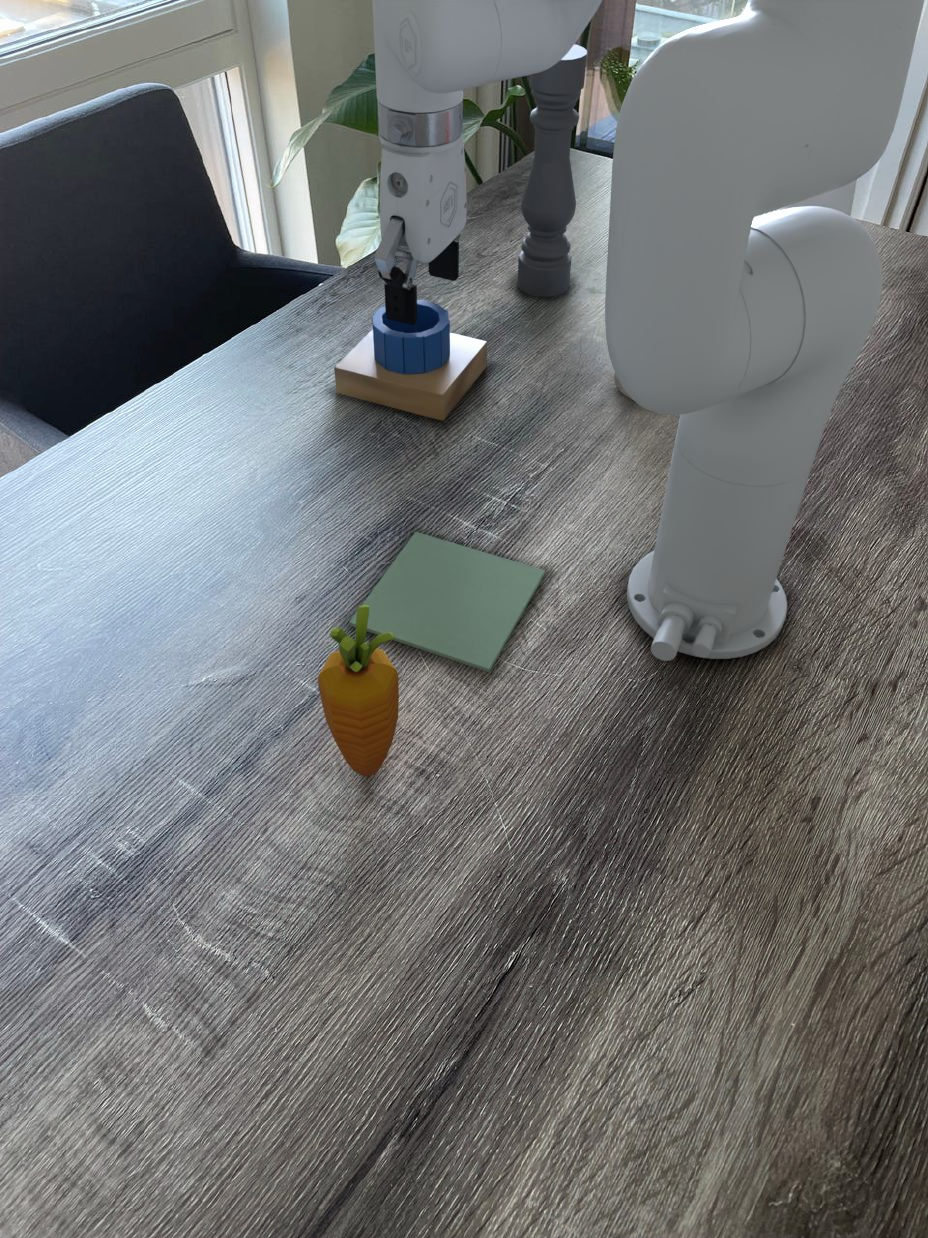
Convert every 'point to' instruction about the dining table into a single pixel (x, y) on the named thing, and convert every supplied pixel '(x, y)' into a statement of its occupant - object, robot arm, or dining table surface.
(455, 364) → the platform
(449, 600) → the mat
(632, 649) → the dining table surface
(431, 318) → the ring
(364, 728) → the carrot
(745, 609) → the robot arm
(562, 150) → the candle holder
